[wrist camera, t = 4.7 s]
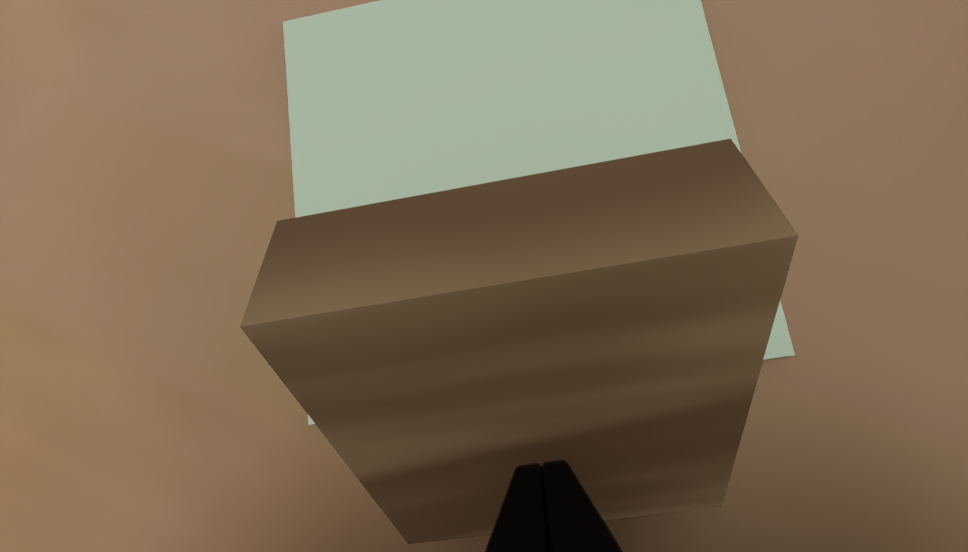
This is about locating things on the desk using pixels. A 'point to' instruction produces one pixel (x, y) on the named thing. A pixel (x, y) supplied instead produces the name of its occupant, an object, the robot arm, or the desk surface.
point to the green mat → (494, 95)
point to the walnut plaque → (533, 333)
